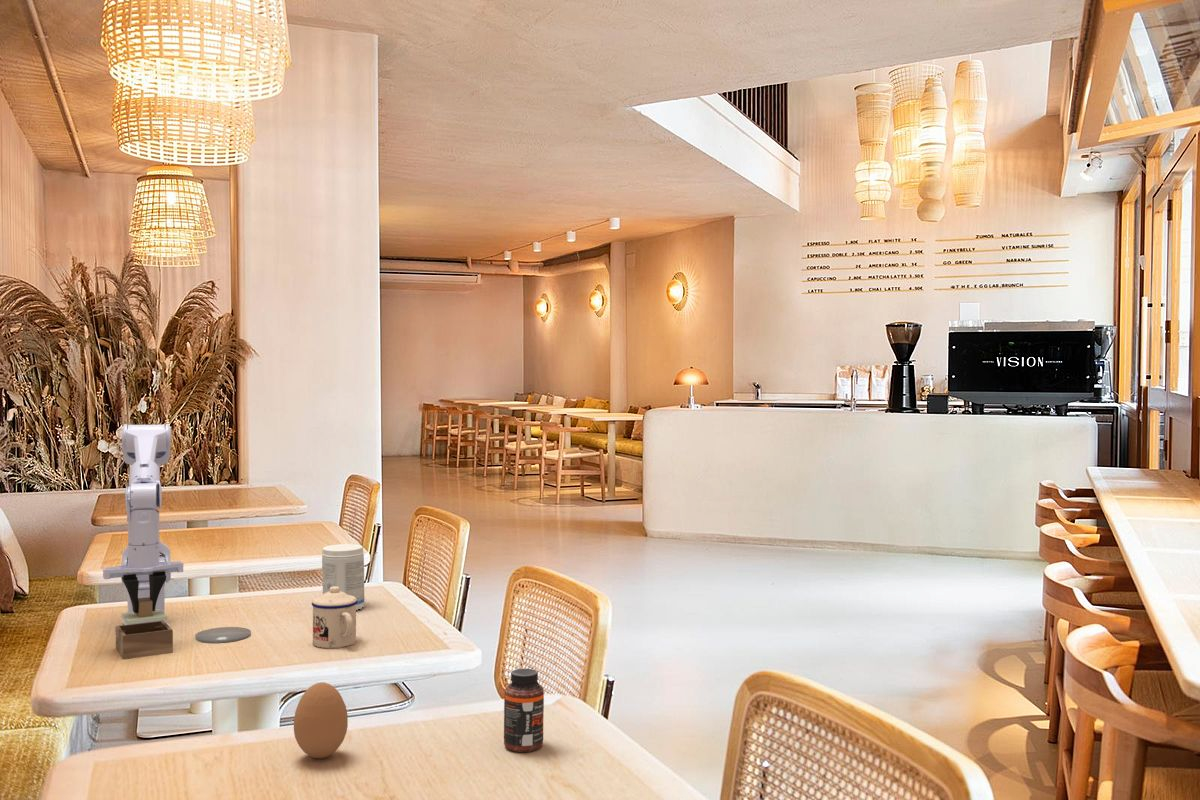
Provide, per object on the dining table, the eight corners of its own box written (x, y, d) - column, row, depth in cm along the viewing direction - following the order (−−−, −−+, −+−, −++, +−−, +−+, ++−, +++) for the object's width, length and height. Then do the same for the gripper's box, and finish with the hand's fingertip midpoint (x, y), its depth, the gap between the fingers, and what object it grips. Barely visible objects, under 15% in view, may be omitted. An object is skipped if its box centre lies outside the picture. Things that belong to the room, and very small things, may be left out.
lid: (121, 616, 205) (121, 598, 205) (159, 611, 209) (159, 594, 209) (127, 623, 199) (127, 605, 199) (167, 619, 203) (166, 601, 203)
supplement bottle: (538, 755, 151) (539, 678, 150) (499, 752, 152) (499, 676, 151) (547, 740, 157) (547, 667, 156) (509, 738, 158) (510, 665, 157)
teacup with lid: (304, 642, 212) (304, 586, 211) (345, 635, 218) (345, 580, 217) (329, 655, 202) (329, 596, 202) (371, 647, 208) (371, 590, 208)
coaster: (189, 634, 217) (189, 631, 217) (243, 627, 223) (243, 624, 223) (202, 645, 208) (202, 642, 208) (257, 638, 214) (257, 635, 214)
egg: (290, 751, 151) (290, 678, 151) (342, 744, 154) (342, 672, 154) (297, 770, 144) (297, 693, 144) (352, 762, 147) (352, 687, 147)
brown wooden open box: (115, 648, 206) (115, 626, 205) (163, 642, 211) (163, 620, 210) (123, 659, 198) (123, 635, 198) (172, 652, 203) (172, 629, 203)
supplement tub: (364, 603, 247) (364, 543, 247) (364, 612, 238) (364, 549, 238) (322, 605, 245) (322, 544, 245) (321, 614, 236) (321, 550, 236)
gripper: (106, 549, 196) (107, 620, 197) (186, 543, 205) (186, 610, 205) (101, 544, 202) (101, 612, 203) (179, 538, 210) (179, 603, 211)
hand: (143, 611), depth 204 cm, fingers closed on lid, 2 cm apart
